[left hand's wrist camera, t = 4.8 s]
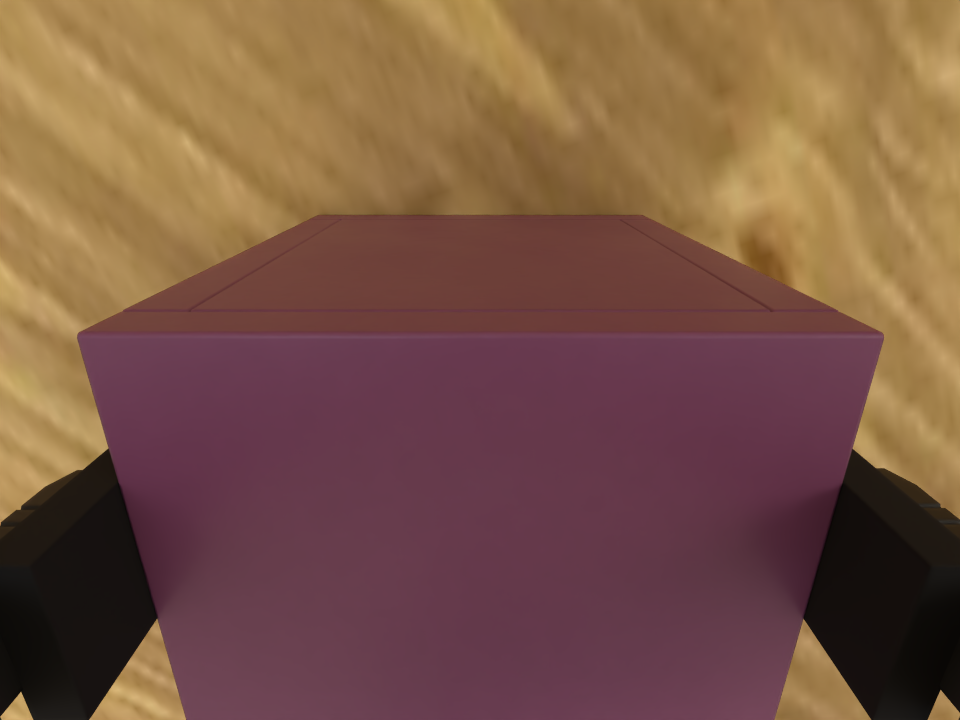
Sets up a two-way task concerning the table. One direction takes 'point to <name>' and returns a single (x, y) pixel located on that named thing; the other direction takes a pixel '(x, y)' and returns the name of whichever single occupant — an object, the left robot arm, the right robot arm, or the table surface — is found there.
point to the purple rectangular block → (480, 470)
